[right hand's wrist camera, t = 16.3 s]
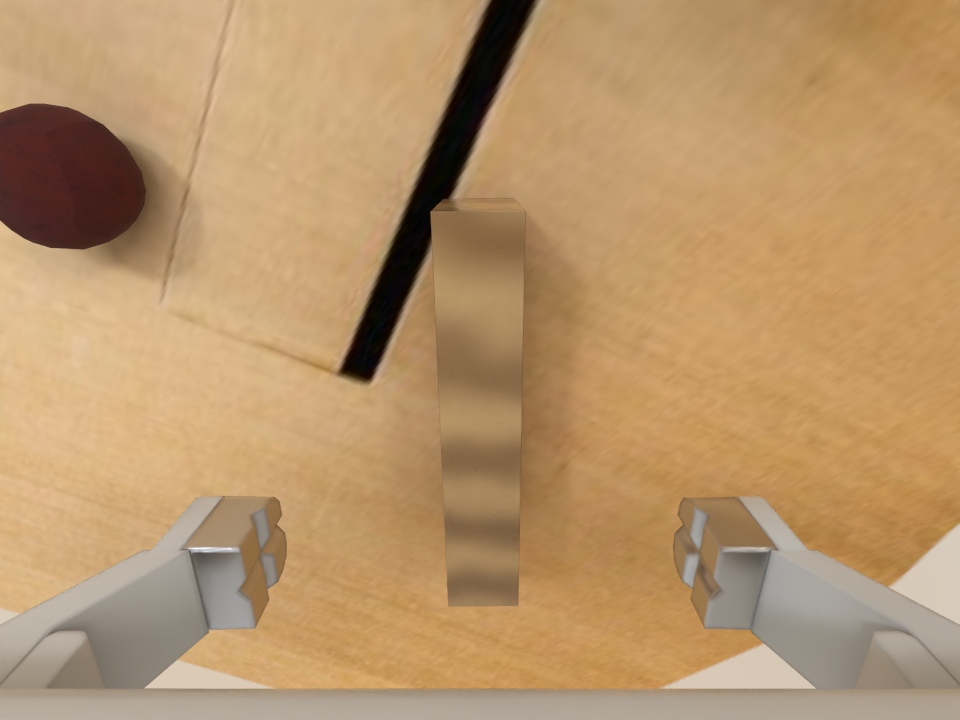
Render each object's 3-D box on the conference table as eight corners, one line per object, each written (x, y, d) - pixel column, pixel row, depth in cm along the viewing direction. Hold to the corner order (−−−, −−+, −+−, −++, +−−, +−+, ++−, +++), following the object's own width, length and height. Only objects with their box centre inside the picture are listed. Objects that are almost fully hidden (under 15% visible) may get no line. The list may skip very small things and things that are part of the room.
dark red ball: (71, 244, 34) (-27, 263, 27) (25, 113, 31) (-96, 101, 25) (182, 235, 34) (110, 253, 27) (145, 103, 31) (55, 88, 24)
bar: (442, 199, 33) (430, 211, 25) (514, 198, 33) (525, 210, 25) (454, 520, 42) (448, 606, 34) (510, 520, 42) (518, 606, 34)
